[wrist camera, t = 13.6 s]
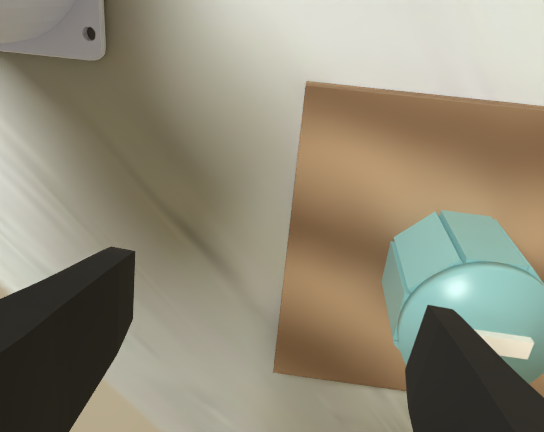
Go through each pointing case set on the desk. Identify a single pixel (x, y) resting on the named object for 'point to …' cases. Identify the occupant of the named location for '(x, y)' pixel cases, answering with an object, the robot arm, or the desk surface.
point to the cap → (467, 286)
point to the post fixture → (392, 212)
